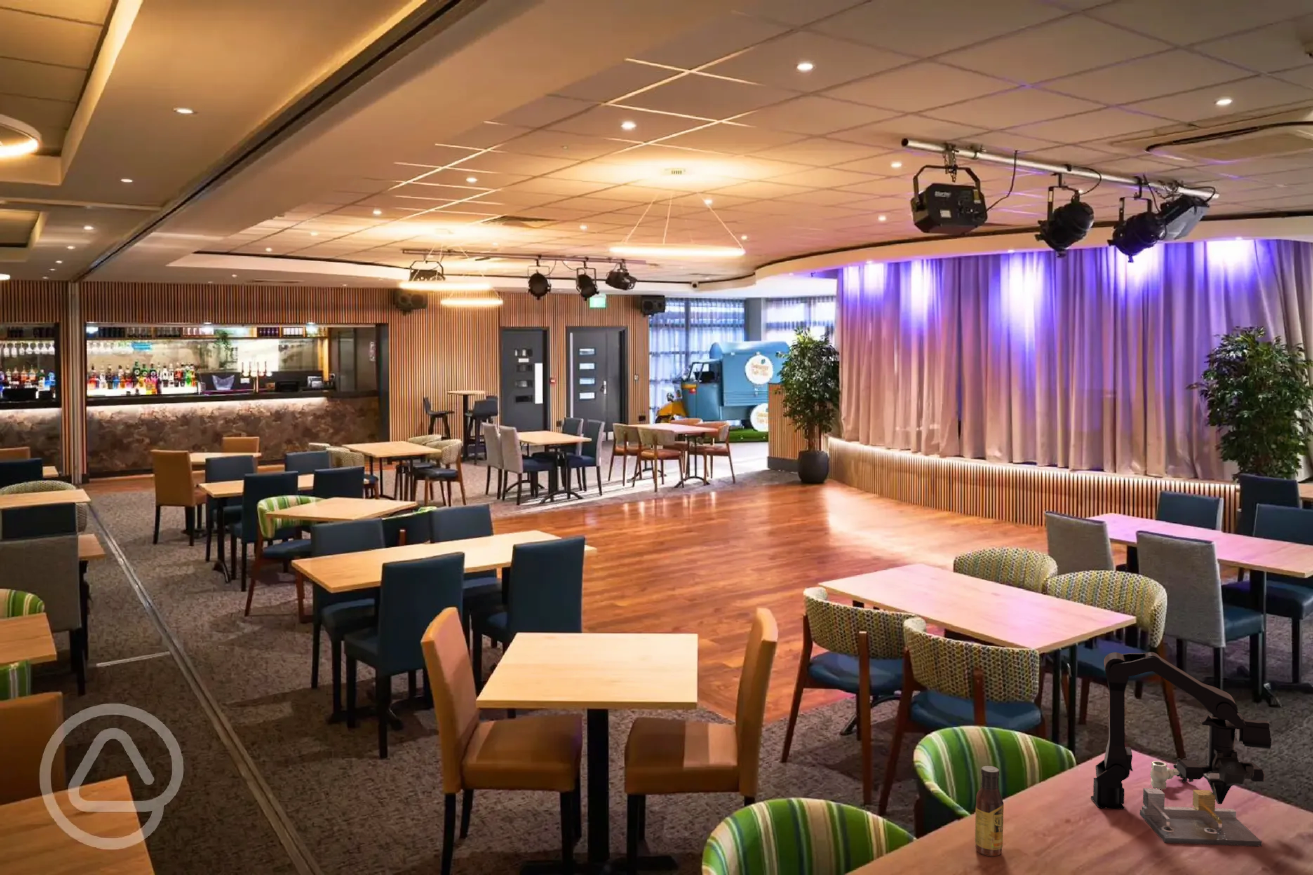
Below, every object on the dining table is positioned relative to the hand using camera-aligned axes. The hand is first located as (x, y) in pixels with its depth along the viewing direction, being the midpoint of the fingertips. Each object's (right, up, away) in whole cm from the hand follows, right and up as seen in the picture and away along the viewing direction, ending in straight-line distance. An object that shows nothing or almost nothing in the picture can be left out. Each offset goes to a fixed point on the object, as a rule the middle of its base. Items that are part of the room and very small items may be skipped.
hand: (1219, 803), depth 242 cm
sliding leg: (-4, -3, -3) cm, 6 cm away
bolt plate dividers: (-8, -5, -5) cm, 10 cm away
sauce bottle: (-63, -6, -14) cm, 65 cm away
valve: (-1, -3, +22) cm, 22 cm away
